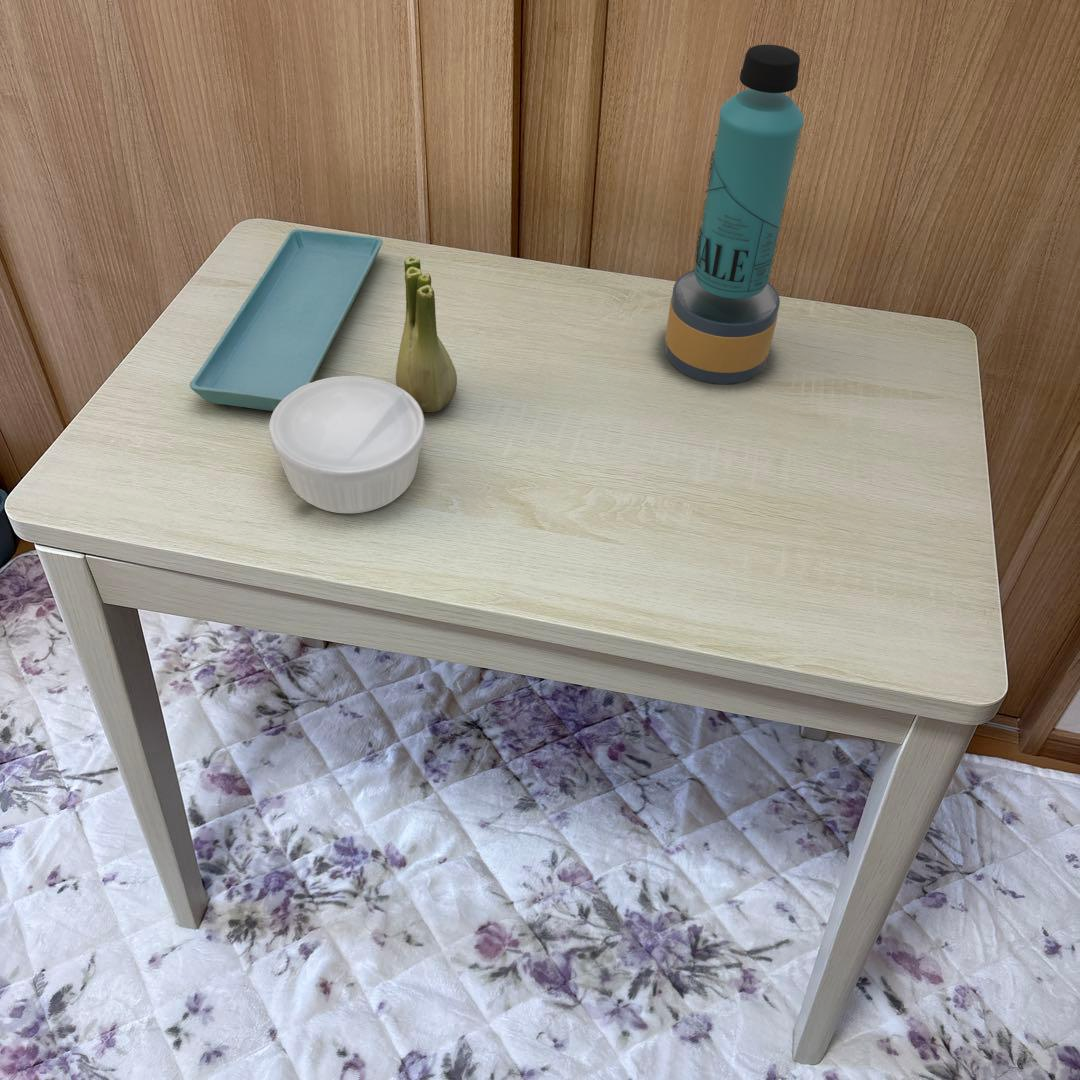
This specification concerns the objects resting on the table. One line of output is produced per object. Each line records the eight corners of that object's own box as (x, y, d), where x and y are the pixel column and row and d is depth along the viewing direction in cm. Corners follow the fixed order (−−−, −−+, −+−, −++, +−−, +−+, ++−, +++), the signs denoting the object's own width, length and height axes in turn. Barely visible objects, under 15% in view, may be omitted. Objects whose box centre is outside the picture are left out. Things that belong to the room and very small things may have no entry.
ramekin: (433, 520, 77) (430, 466, 74) (277, 532, 76) (266, 478, 72) (421, 423, 85) (418, 370, 81) (279, 432, 83) (270, 379, 80)
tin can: (735, 316, 98) (747, 258, 93) (786, 373, 92) (801, 314, 87) (646, 334, 95) (654, 275, 91) (692, 393, 89) (703, 333, 85)
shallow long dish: (294, 246, 103) (291, 223, 101) (385, 257, 102) (384, 234, 101) (192, 411, 85) (186, 386, 83) (302, 426, 84) (299, 401, 82)
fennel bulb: (407, 375, 89) (398, 248, 81) (463, 382, 89) (461, 255, 80) (389, 418, 85) (379, 289, 77) (449, 425, 85) (445, 297, 76)
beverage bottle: (764, 277, 91) (816, 36, 77) (768, 320, 87) (824, 73, 72) (688, 270, 92) (726, 29, 77) (688, 313, 87) (729, 65, 73)
